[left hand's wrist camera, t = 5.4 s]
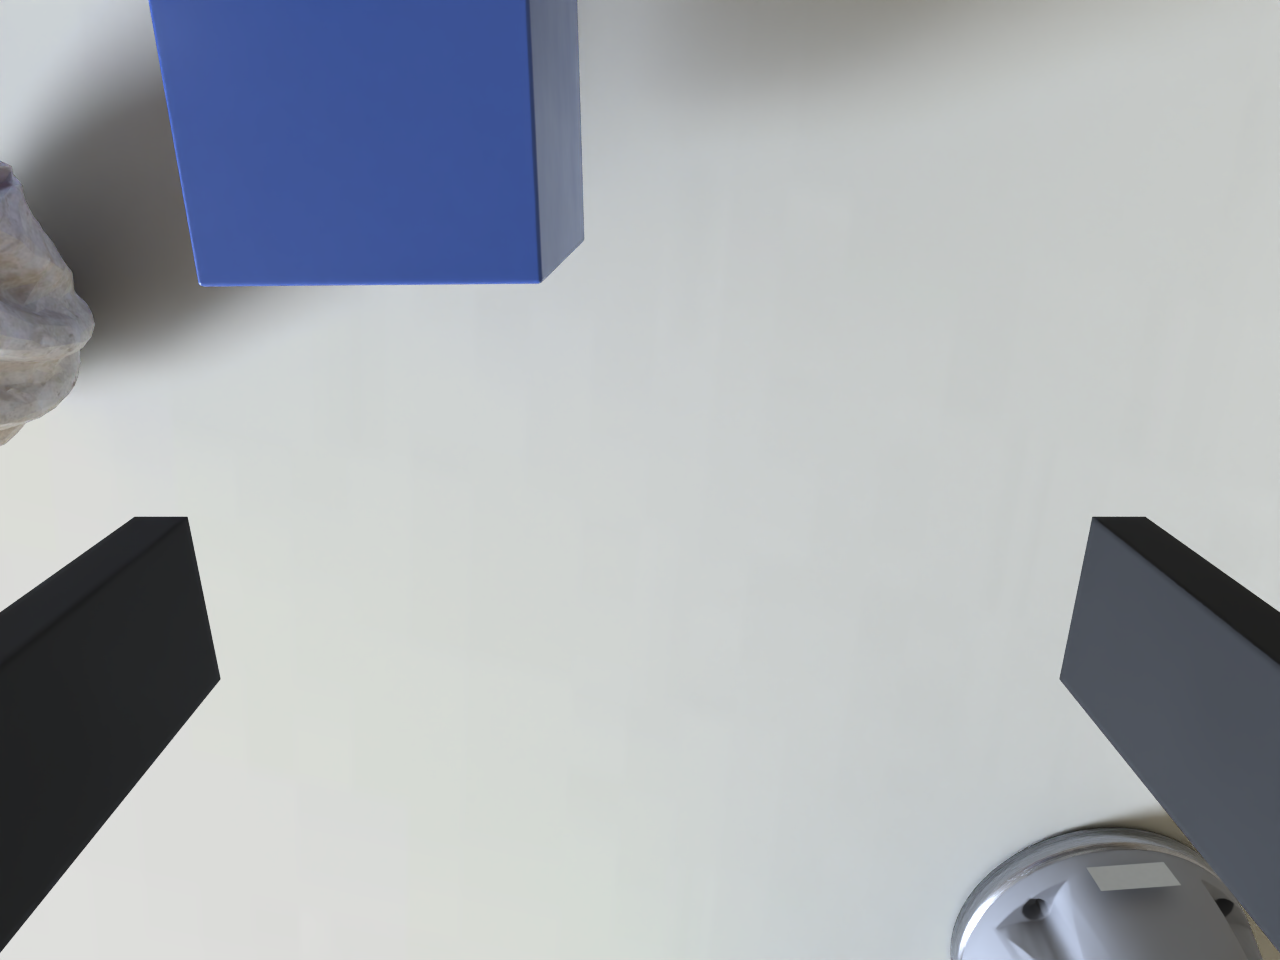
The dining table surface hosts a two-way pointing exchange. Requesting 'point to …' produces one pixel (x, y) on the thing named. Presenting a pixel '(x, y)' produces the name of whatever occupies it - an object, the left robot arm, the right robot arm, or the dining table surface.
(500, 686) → the dining table surface
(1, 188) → the seashell
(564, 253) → the box
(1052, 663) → the dining table surface
